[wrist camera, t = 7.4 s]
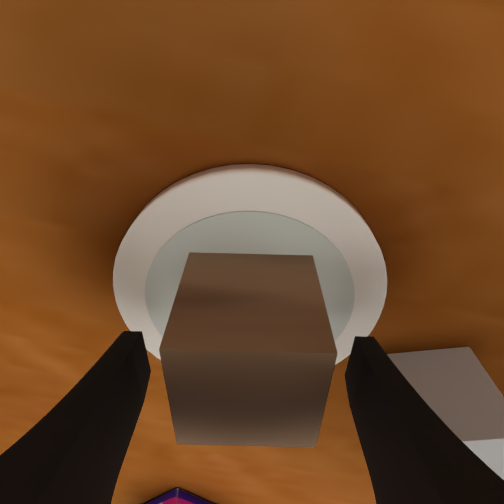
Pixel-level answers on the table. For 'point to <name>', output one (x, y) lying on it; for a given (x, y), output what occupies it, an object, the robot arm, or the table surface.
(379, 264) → the dish
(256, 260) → the walnut block
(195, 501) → the supplement box
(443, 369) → the grey block
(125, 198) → the table surface
